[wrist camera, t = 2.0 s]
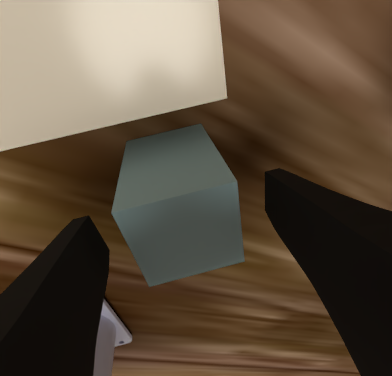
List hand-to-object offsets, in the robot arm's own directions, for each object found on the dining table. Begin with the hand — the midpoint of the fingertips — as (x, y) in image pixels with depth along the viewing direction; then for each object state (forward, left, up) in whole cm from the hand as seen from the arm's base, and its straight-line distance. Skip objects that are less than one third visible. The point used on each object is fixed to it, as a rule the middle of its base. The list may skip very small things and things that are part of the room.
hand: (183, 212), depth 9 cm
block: (0, 0, -5) cm, 5 cm away
